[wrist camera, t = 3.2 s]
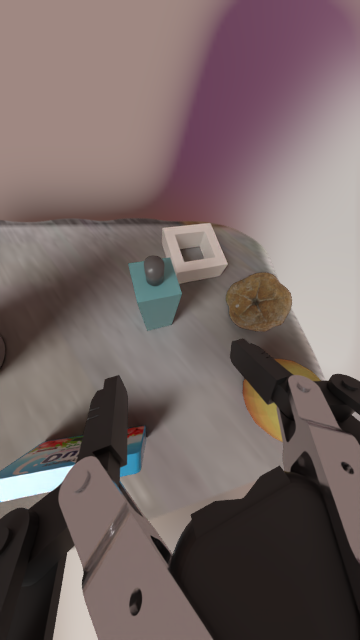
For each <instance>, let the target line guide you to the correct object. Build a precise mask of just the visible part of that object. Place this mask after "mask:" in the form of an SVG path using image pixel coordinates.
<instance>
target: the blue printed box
mask: <svg viewBox="0 0 360 640" xmlns="http://www.w3.org/2000/svg"><path fill="white" fill-rule="evenodd" d="M82 438H83V435H82V436H76V437H70V438H64V439H57V440H51V441H45V442H43V443H41V444H39V445H38V446H36V447H35V448H33V449H32V450H30V451H29V452H28V453H26V454H25V455H23V456H22V457H20V458H19V459H17V460H16V461H14V462H13V463H11V464H10V465H8V466H7V467H5V468H4V469H3V470H1V471H0V502H4V501H8V500H13V499H18V498H23V497H27V496H32V495H37V494H42V493H46V492H51V491H53V490H54V489H55V488H56V487H58V486H59V485H60V484H61V483H62V482H63V480H64V478H65V477H66V475H67V474H68V472H69V471H70V469H71V468H72V467H73V466H74V465H75V463H76V461H77V458H78V455H79V450H80V446H81V442H82ZM145 444H146V426H138V427H132V428H128V435H127V465H125V466H123V467H121V468H120V477H122V476H127V475H131V474H136V473H138V472H139V471H140V470H141V468H142V462H143V456H144V450H145Z"/></svg>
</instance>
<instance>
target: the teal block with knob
mask: <svg viewBox="0 0 360 640" xmlns="http://www.w3.org/2000/svg"><path fill="white" fill-rule="evenodd" d="M128 265H129V269H130V274H131V278H132V282H133V287H134V291H135V295H136V299H137V303H138V306H139V309H140V312H141V315H142V317H143V320H144V323H145V326H146V328H147V331H148V330H152V329H156V328H160V327H164V326H168V325H172V322H173V319H174V316H175V313H176V310H177V307H178V304H179V301H180V298H181V295H182V292H181V289H180V286H179V283H178V280H177V277H176V274H175V270H174V267H173V264H172V261H171V258H170V257H169V258H162V259H161V258H160V257H158V256H149V257H147V258H146V259H145V261H142V262H135V263H128Z"/></svg>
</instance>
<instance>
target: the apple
mask: <svg viewBox="0 0 360 640" xmlns="http://www.w3.org/2000/svg"><path fill="white" fill-rule="evenodd" d="M275 360H276V361H277V362H278V363H279V364H281V365H282V366H283V367H284V368H286V369H287V370H288V371H289V372H291V373H292V374H293V375H300V376H304V377H306V378H309V379H310V380H312V381H321V380H320V379H319V378H318V377H317V376H316V375H315V374H314V373H313V372H312V371H310V370H308V369H307V368H305V367H303V366H302V365H300V364H298V363H296V362H294V361H289V360H284V359H275ZM243 397H244V401H245V405H246V407H247V410H248V411H249V413H250V415H251V416H252V418H253V420H254V421H255V423H256V424H258V425H259V426H260V427H261V428H262V429H263V430H265V431H266V432H267V433H268V434H269V435H271V436H272V437H273V438H275V439H277V440H279V441H282V436H281V430H280V425H279V420H278V415H277V410H276V407H277V405H276V404H275V403H272V404H269V405H267V404H266V403H265V402H264V400H263V399H262V398H261V397H260V396H259V394H258V393H257V392H256V391H255V390H254V389H253V387H252V386H251V385H250V384H249V383H248V381H247V380H246V379H244V381H243ZM282 442H283V441H282Z"/></svg>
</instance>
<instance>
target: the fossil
mask: <svg viewBox="0 0 360 640" xmlns="http://www.w3.org/2000/svg"><path fill="white" fill-rule="evenodd" d="M226 301H227V303H228V306H229V308H230V311H229V314H230V317H231V320H232V321H233V322H234V323H235V324H236V325H237V326H239V327H240V328H243V329H248V330H253V331H264V332H265V331H267V330H269V329H270V328H273V327H274V326H278V325H281V324H282V323H283V322H284V320H285V318H286V316H287V315H288V313H289V311H290V309H291V305H292V297H291V293H290V292H289V290H288V289H287V288H286V287H285V286H283V285H282V284H280V283H279V281H278V280H277V278H276V277H275V276H274V275H272V274H269V273H256V274H253V275H250V276H249V277H247V278H245V279H243V280H241V281H239V282H236V283H234V284H233V285H232V286H231V287H230V289H229V290H228V292H227V295H226Z"/></svg>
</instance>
